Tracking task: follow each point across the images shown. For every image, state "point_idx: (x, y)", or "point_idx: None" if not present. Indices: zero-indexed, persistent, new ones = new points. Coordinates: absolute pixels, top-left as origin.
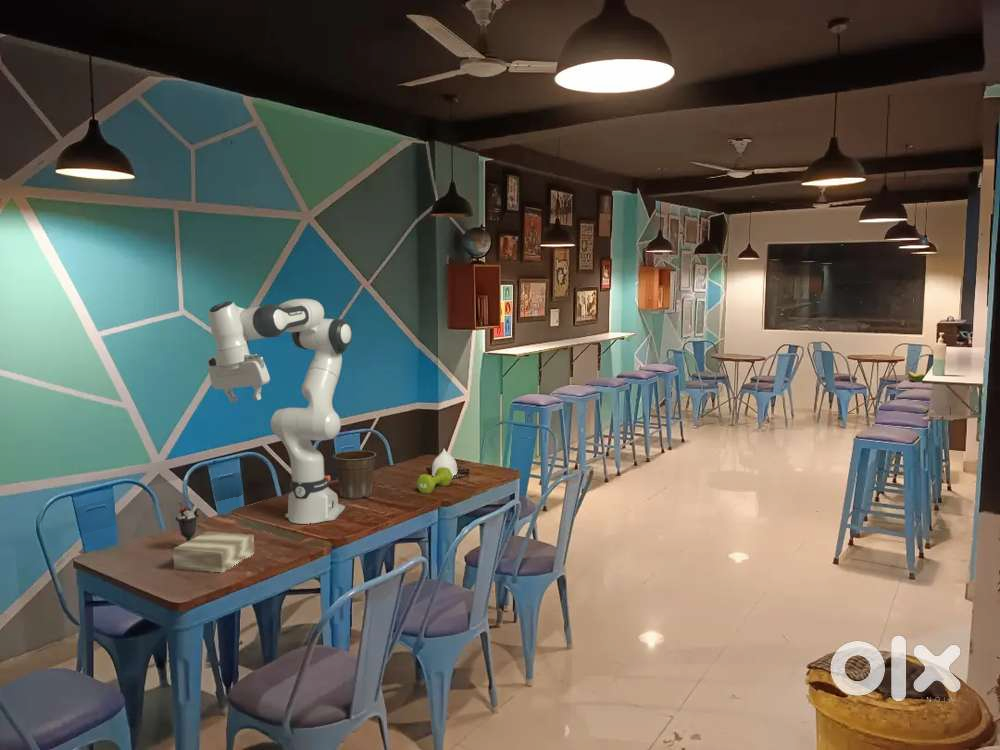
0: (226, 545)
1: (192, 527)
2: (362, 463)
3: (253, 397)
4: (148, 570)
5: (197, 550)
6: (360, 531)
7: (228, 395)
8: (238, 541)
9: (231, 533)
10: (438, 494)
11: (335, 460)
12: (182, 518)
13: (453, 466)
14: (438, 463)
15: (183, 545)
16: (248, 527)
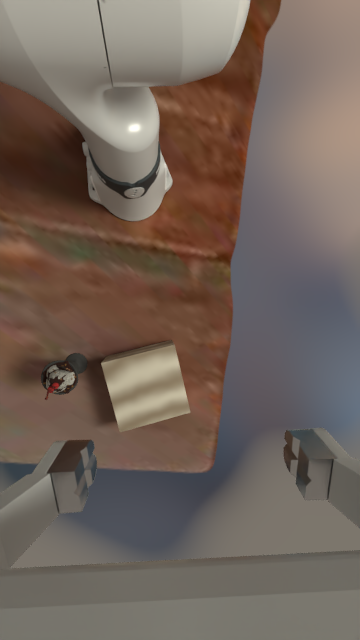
0: (175, 391)
1: (77, 373)
2: None
3: (297, 480)
4: (98, 435)
5: (155, 421)
6: (237, 213)
7: (33, 535)
8: (177, 373)
9: (141, 354)
10: None
11: None
12: (63, 390)
13: None
14: None
15: (121, 417)
16: (77, 262)
